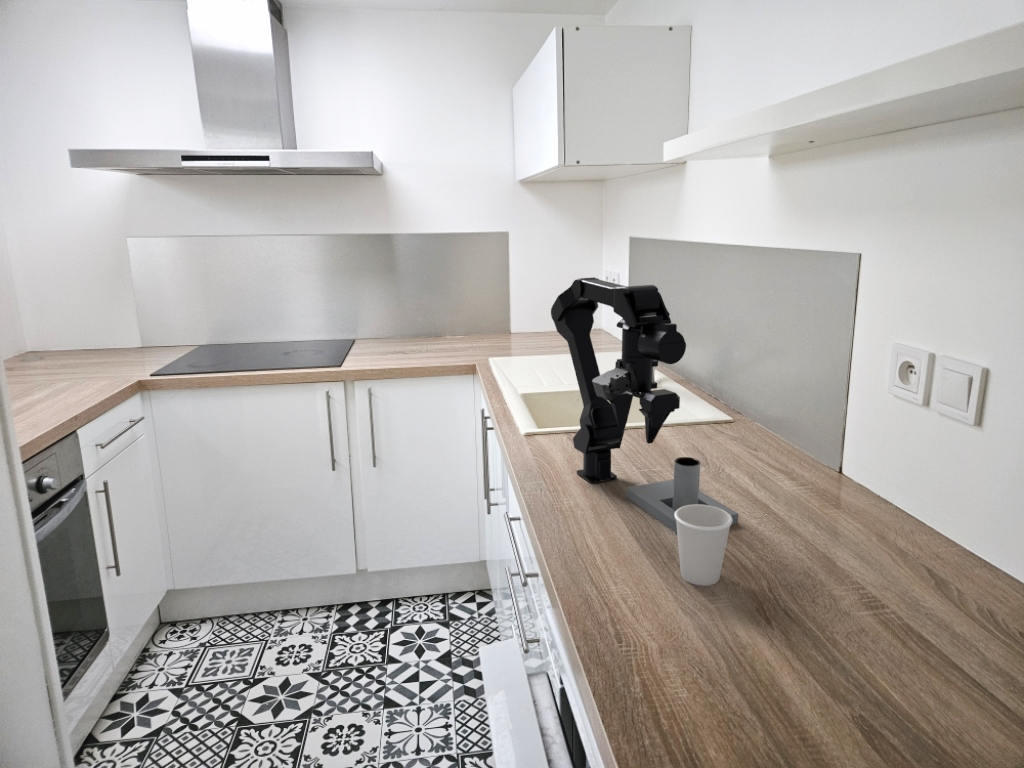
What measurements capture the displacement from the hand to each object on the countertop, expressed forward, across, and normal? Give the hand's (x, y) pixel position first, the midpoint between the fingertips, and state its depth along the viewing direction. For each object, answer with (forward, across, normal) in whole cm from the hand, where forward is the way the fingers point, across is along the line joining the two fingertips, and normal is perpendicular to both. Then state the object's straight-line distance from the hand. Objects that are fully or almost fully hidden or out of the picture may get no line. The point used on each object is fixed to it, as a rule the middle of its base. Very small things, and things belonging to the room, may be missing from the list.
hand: (635, 436), depth 128 cm
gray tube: (+13, +9, +5) cm, 17 cm away
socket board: (+13, +7, +5) cm, 16 cm away
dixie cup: (+14, +28, -7) cm, 31 cm away
